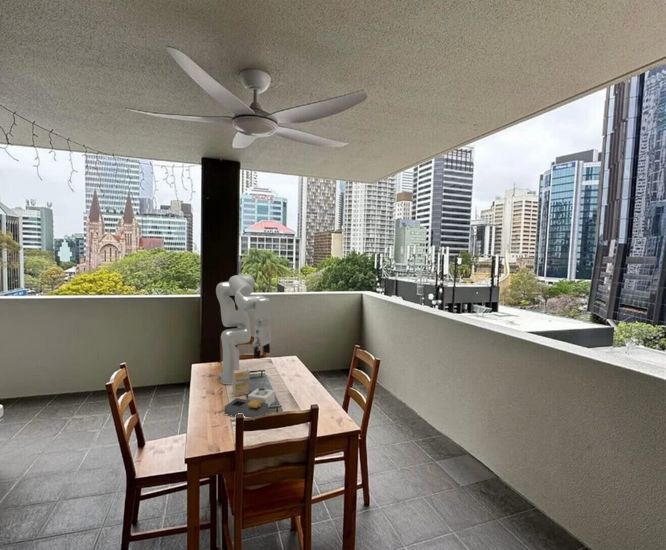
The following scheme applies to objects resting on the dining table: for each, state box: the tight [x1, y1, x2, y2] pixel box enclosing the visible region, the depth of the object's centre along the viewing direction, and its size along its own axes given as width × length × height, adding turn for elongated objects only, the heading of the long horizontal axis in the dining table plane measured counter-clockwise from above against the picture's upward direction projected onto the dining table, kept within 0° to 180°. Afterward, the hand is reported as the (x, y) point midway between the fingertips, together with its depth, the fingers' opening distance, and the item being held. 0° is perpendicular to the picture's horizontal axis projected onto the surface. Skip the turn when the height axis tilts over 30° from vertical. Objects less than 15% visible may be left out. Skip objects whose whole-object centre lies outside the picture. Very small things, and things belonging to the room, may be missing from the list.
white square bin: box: [247, 387, 276, 408], centre depth 173 cm, size 10×10×6 cm
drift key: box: [248, 399, 262, 409], centre depth 162 cm, size 5×5×5 cm
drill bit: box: [257, 379, 266, 396], centre depth 173 cm, size 4×4×12 cm
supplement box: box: [231, 368, 251, 397], centre depth 185 cm, size 8×5×13 cm, turn 122°
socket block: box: [223, 397, 269, 418], centre depth 164 cm, size 18×10×4 cm, turn 72°
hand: (262, 355), depth 172 cm, fingers open, 9 cm apart
